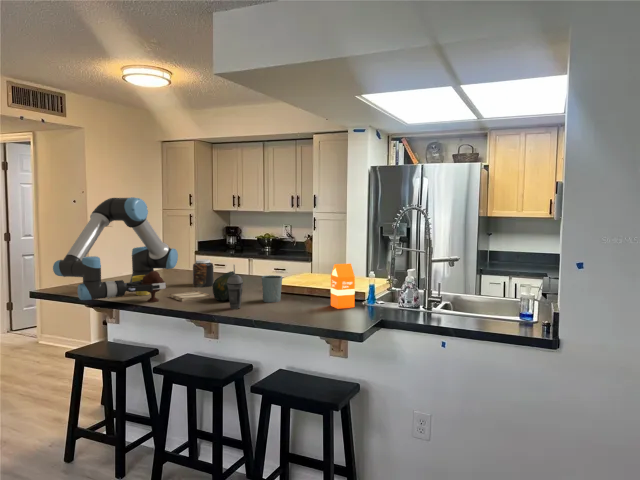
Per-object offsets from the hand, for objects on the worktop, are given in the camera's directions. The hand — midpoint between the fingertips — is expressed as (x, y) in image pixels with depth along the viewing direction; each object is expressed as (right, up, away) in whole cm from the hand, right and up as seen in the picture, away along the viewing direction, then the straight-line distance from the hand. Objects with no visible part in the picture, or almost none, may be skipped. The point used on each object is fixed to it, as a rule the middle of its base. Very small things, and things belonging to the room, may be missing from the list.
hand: (160, 284), depth 240 cm
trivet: (+12, -7, +8) cm, 16 cm away
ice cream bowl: (-3, -8, -2) cm, 9 cm away
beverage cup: (+40, -10, -18) cm, 45 cm away
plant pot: (-14, -7, +15) cm, 22 cm away
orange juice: (+90, -9, -14) cm, 91 cm away
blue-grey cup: (+55, -8, 0) cm, 56 cm away
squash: (+33, -8, +2) cm, 34 cm away
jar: (+11, -5, +44) cm, 46 cm away
